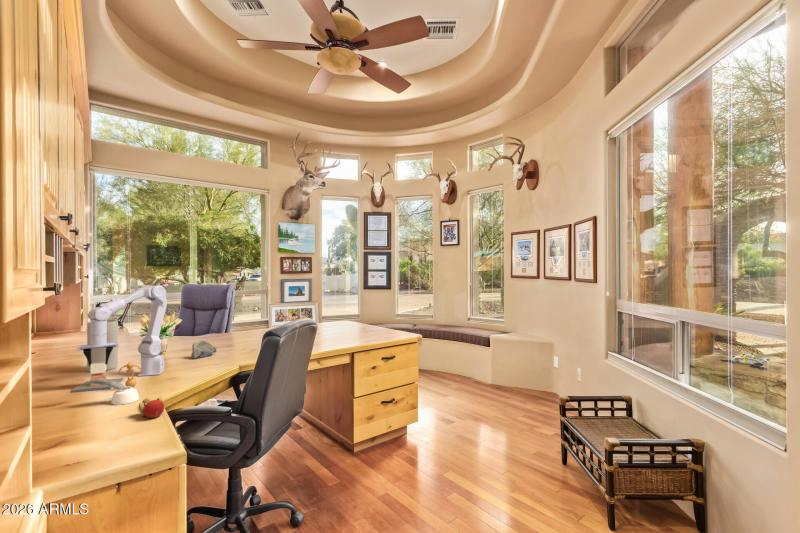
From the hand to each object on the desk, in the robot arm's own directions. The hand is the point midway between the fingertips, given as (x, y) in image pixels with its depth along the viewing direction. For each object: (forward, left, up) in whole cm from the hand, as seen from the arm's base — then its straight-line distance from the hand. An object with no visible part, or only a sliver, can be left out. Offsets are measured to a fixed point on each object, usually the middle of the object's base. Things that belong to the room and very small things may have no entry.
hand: (98, 364), depth 166 cm
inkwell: (-15, +27, -10) cm, 33 cm away
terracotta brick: (0, 0, -8) cm, 8 cm away
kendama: (-33, +43, -10) cm, 55 cm away
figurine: (-15, +8, -10) cm, 20 cm away
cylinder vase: (+12, -34, -10) cm, 37 cm away
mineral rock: (-33, -48, -10) cm, 59 cm away
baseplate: (0, 0, -9) cm, 9 cm away
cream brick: (0, -1, -3) cm, 3 cm away
